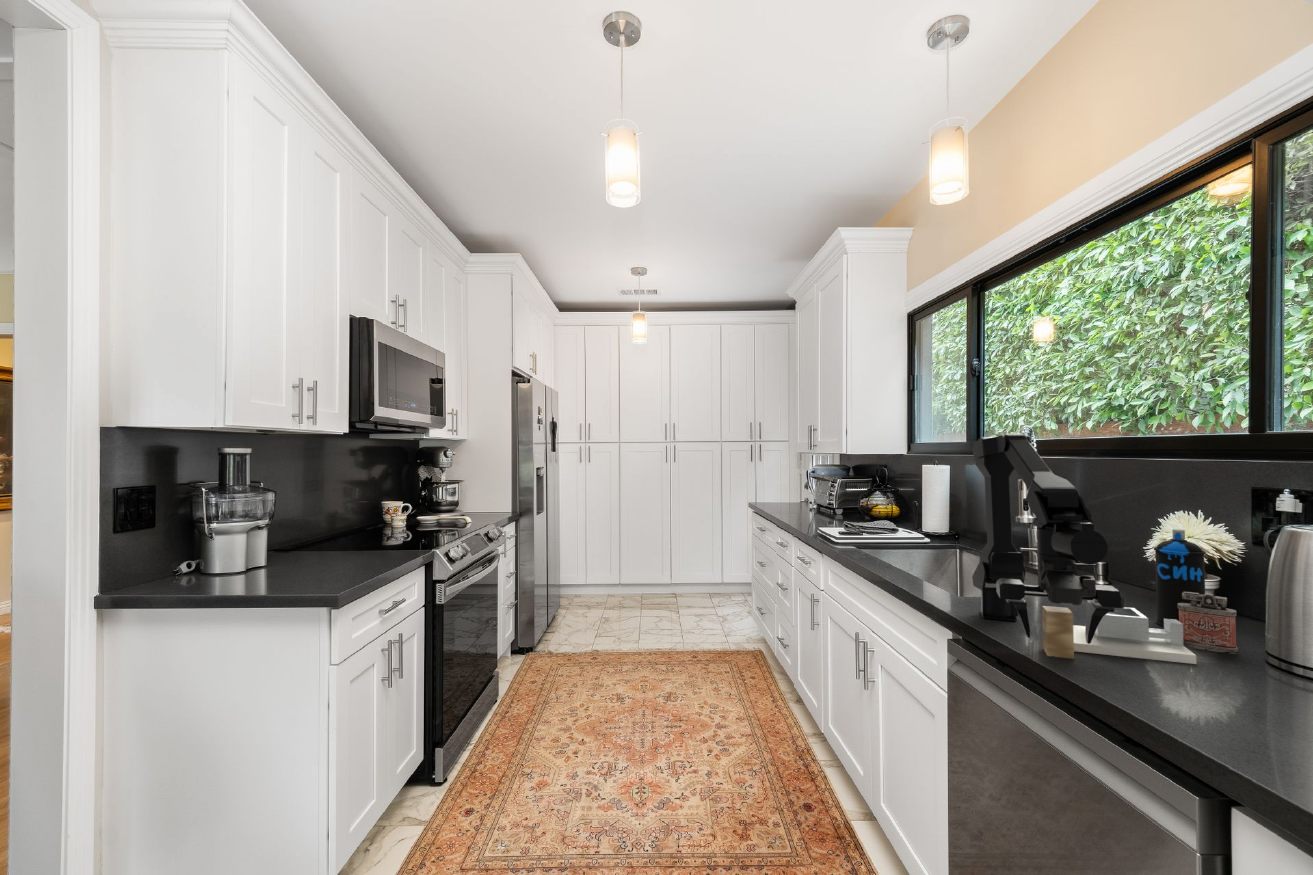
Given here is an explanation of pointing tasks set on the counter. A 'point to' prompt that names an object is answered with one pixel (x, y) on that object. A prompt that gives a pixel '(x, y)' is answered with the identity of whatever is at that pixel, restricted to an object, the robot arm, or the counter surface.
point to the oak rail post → (1058, 632)
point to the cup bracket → (1138, 627)
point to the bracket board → (1132, 647)
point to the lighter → (1208, 623)
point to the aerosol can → (1177, 574)
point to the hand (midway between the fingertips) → (1057, 640)
